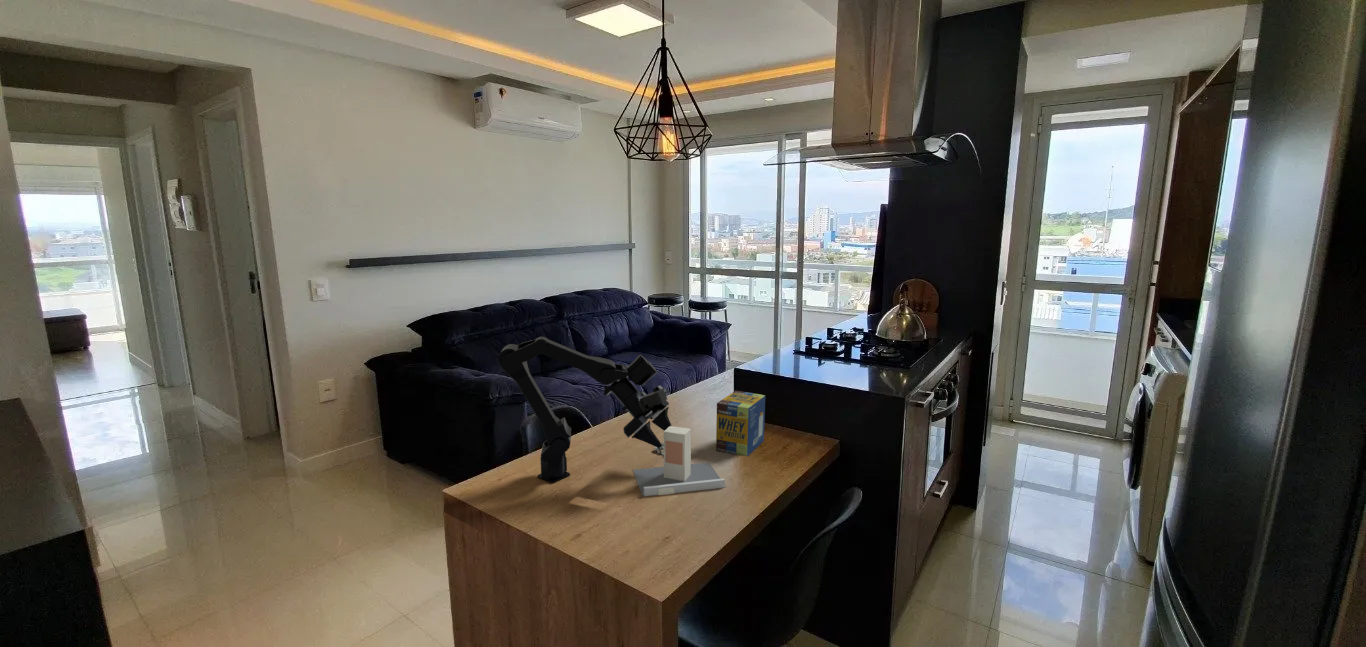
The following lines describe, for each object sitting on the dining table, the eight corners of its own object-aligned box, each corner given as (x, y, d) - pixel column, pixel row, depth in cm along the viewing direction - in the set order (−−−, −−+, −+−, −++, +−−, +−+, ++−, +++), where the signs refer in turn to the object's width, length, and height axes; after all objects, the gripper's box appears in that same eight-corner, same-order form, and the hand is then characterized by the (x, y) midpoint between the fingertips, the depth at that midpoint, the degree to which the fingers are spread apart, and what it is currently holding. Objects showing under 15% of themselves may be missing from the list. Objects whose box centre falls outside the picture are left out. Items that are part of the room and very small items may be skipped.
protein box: (715, 451, 174) (716, 402, 171) (734, 435, 187) (735, 389, 185) (747, 457, 169) (748, 408, 166) (764, 440, 182) (766, 394, 180)
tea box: (663, 477, 152) (663, 431, 150) (670, 470, 156) (670, 425, 154) (684, 481, 150) (684, 434, 147) (690, 474, 154) (690, 428, 152)
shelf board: (642, 502, 141) (642, 489, 141) (632, 474, 157) (632, 463, 156) (726, 493, 147) (726, 480, 146) (708, 467, 162) (709, 455, 162)
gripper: (633, 388, 143) (674, 435, 141) (662, 370, 160) (698, 412, 158) (606, 414, 147) (645, 460, 145) (637, 394, 164) (673, 435, 162)
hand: (667, 440), depth 153 cm, fingers open, 9 cm apart
